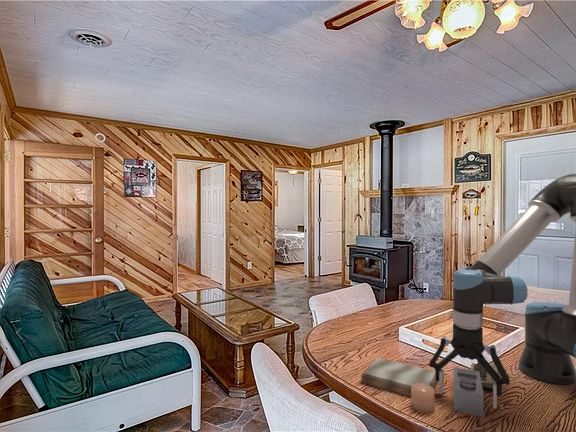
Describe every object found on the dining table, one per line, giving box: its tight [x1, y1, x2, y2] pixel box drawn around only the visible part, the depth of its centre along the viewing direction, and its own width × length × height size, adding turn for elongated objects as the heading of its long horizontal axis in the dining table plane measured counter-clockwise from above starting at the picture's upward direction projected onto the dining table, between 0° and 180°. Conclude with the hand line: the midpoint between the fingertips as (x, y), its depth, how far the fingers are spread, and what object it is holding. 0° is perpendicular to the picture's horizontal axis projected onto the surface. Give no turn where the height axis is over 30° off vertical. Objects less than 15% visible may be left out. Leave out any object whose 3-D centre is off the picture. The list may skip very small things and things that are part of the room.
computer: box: [469, 361, 499, 393], centre depth 110 cm, size 16×8×3 cm, turn 149°
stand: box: [360, 357, 439, 398], centre depth 109 cm, size 20×14×3 cm
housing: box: [452, 366, 485, 417], centre depth 99 cm, size 14×7×7 cm, turn 155°
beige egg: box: [410, 383, 435, 414], centre depth 96 cm, size 6×6×5 cm
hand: (467, 398), depth 99 cm, fingers open, 13 cm apart
